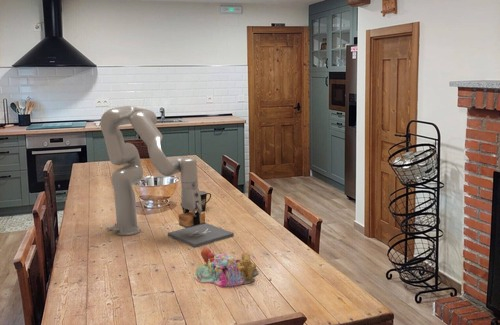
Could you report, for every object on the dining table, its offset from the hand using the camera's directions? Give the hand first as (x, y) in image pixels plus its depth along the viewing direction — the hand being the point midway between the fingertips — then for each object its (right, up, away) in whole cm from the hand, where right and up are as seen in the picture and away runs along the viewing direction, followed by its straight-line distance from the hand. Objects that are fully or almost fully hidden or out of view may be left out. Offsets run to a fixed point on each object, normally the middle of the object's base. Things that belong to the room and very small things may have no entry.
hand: (192, 222), depth 242 cm
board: (+4, -7, +5) cm, 9 cm away
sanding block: (0, -1, 0) cm, 1 cm away
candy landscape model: (+17, -16, -40) cm, 47 cm away
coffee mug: (0, +1, +48) cm, 48 cm away
